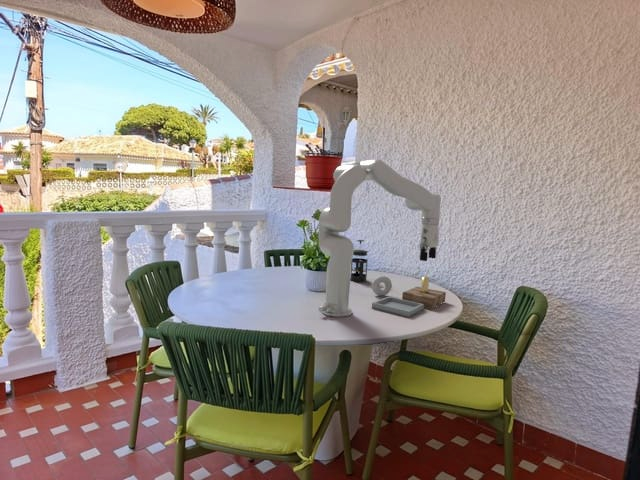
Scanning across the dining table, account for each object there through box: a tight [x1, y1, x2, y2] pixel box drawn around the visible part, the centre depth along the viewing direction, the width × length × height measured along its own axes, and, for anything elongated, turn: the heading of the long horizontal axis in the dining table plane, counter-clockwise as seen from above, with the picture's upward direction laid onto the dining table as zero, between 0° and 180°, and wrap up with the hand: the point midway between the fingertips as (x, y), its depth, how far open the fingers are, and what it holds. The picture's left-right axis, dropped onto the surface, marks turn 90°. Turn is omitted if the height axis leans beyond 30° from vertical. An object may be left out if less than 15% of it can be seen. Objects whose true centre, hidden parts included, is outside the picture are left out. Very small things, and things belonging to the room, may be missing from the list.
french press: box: [350, 239, 369, 283], centre depth 215 cm, size 12×9×23 cm
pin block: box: [401, 286, 447, 310], centre depth 177 cm, size 16×14×5 cm
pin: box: [420, 276, 430, 294], centre depth 177 cm, size 3×3×12 cm
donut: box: [371, 275, 393, 297], centre depth 186 cm, size 10×4×10 cm, turn 99°
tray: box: [371, 296, 425, 319], centre depth 166 cm, size 15×17×2 cm
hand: (427, 259), depth 175 cm, fingers open, 9 cm apart
